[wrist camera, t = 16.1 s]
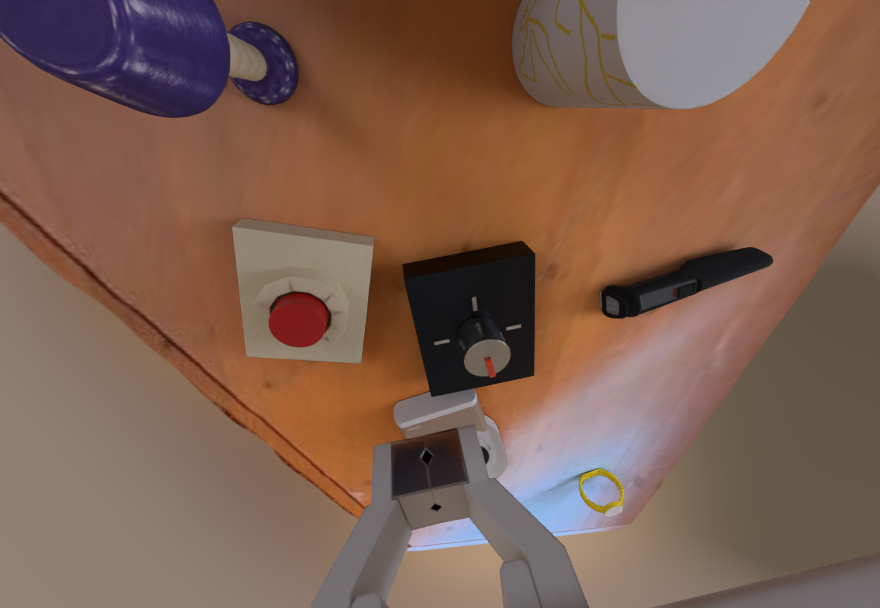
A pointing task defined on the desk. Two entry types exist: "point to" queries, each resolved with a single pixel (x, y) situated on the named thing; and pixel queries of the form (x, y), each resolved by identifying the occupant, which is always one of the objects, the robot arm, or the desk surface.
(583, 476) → the watch
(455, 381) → the control panel
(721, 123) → the desk surface
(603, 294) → the electric trimmer
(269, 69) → the toy lamp
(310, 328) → the power button
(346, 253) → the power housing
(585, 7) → the white round cylinder
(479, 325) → the dial
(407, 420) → the record player
